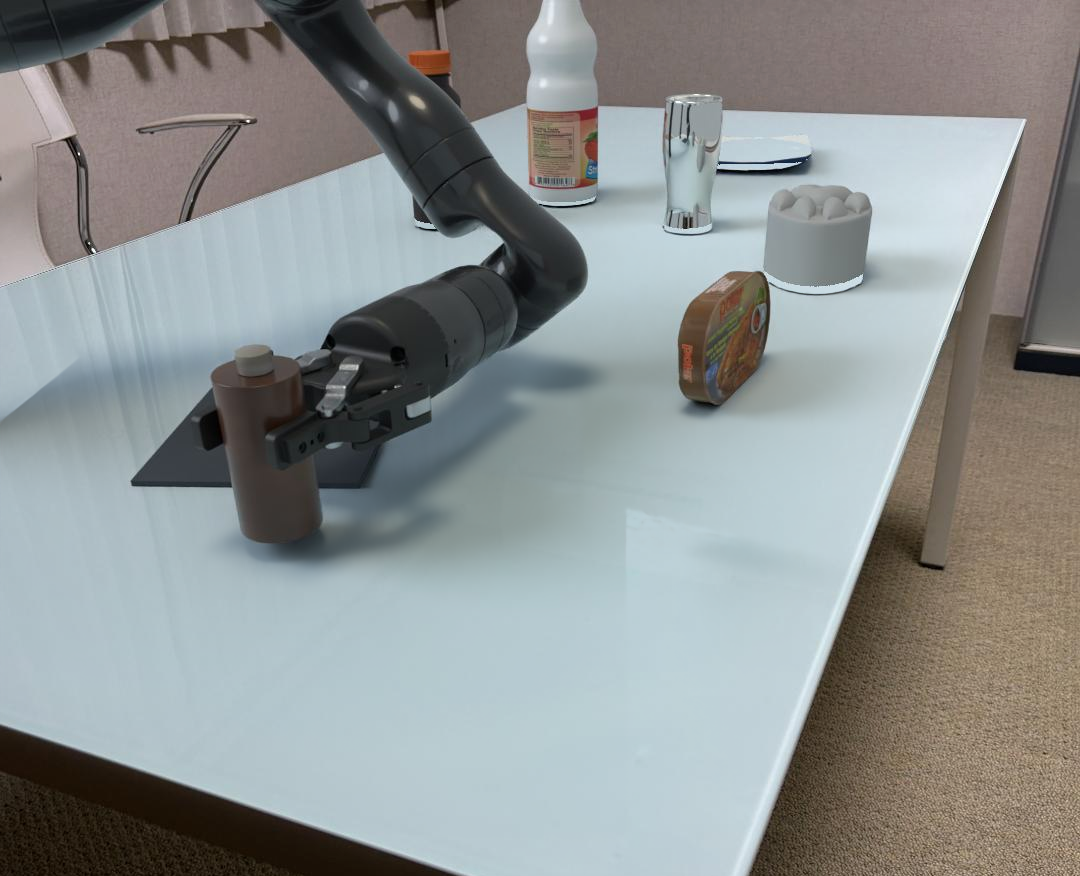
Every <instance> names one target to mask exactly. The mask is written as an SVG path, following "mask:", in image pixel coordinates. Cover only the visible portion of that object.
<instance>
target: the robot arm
mask: <svg viewBox="0 0 1080 876" xmlns="http://www.w3.org/2000/svg"><path fill="white" fill-rule="evenodd" d="M168 1H169V0H0V74H5V73H10V72H17V71H21V70H25V69H29V68H33V67H39V66H41V65H46V64H51V63H54V62H59V61H62V60H67V59H71V58H74V57H76V56H79V55H82V54H85V53H88V52H90V51H92V50H95V49H97V48H99V47H101V46H103V45H104V44H107V43H108V42H110V41H111V40H113V39H114V38H116V37H118V36H119V35H121V34H122V33H124V32H125V31H127V30H128V29H130V28H131V27H132V26H134V25H135V24H137V23H138V22H139V21H141V20H142V19H143V18H144V17H146V16H147V15H149V14H150V13H151V12H153V11H154V10H155V9H157V8H159V7H160V6H162V5H163V4H165V3H166V2H168ZM253 2H254V3H255V4H256V5H257V6H258V8H259V9H260V10H261V11H262V12H263V14H265V16H267V18H268V19H269V20H270V21H271V22H272V23H273V24H274V26H276V27H277V29H278V30H279V31H280V32H281V33H282V34H283V35H284V36H285V37H286V38H287V39H288V40H289V41H290V42H291V43H292V44H293V45H294V46H295V47H296V48H297V49H298V51H300V52H301V53H302V55H304V57H305V58H306V59H307V60H308V61H309V62H310V64H311V65H312V66H313V67H314V68H315V69H316V70H317V71H318V73H319V74H320V75H321V76H322V77H323V78H324V80H325V81H326V82H327V83H328V84H329V85H330V86H331V87H332V88H333V90H334V91H335V92H336V93H337V95H339V97H340V98H341V99H342V100H343V101H344V103H345V104H346V105H347V106H348V107H349V109H350V111H352V113H354V115H355V117H356V118H357V119H358V120H359V122H360V123H361V124H362V125H363V126H364V128H365V130H366V131H367V132H368V133H369V135H370V136H371V138H372V139H373V141H374V142H375V143H376V145H377V146H378V147H379V148H380V150H381V151H382V153H383V154H384V157H386V159H387V160H388V161H389V163H390V165H391V166H392V168H393V169H394V170H395V171H396V174H398V176H399V178H400V179H401V181H402V182H403V184H404V185H405V187H406V188H407V189H408V192H410V194H411V196H412V195H413V197H414V198H415V199H416V201H417V202H418V204H419V205H420V207H421V208H422V210H423V211H424V212H425V214H426V215H427V217H428V218H429V220H430V221H431V223H432V224H433V225H434V227H435V228H436V229H437V230H436V231H437V232H439V233H440V234H441V235H442V236H444V237H446V238H450V239H457V238H461V237H465V236H466V235H468V234H471V233H474V232H475V231H476V230H478V229H480V228H481V227H483V226H484V227H486V228H487V229H489V230H490V231H492V232H493V233H494V234H496V235H497V236H498V237H499V238H500V239H501V240H502V243H501V244H500V245H499V246H497V248H495V250H494V251H493V252H492V253H490V254H489V255H488V256H487V257H486V258H485V259H484V260H483V261H481V262H480V263H479V264H467V265H466V264H465V265H460V266H456V267H454V268H451V269H449V270H446V271H443V272H441V273H440V274H437V275H435V276H433V277H431V278H429V279H427V280H425V281H423V282H420V283H416V284H412V285H407V286H405V287H402V288H400V289H398V290H395V291H393V292H392V293H390V294H387V295H385V296H383V297H381V298H378V299H376V300H374V301H371V302H370V303H368V304H366V305H364V306H362V307H359V308H358V309H355V310H353V311H351V312H349V313H346V314H345V315H343V316H341V317H340V318H339V319H337V320H336V321H335V322H334V323H333V324H332V326H331V327H330V328H329V330H328V332H327V334H326V336H325V339H324V341H323V343H322V345H321V347H320V348H319V349H317V350H312V351H309V352H306V353H304V354H302V355H299V356H297V357H295V358H293V359H294V360H296V361H297V362H298V363H299V364H300V367H301V373H302V380H303V386H304V393H305V400H306V406H307V411H306V412H304V413H302V414H300V415H299V416H297V417H295V418H293V419H291V420H290V421H288V422H286V423H284V424H282V425H281V426H279V427H277V428H275V429H274V430H272V431H270V432H269V433H268V434H267V435H266V437H265V446H266V452H267V458H268V463H269V466H270V467H271V468H275V469H279V470H285V469H287V468H288V467H290V466H292V465H293V464H295V463H297V462H300V461H302V460H304V459H305V458H307V457H309V456H310V455H311V454H314V453H315V452H317V451H318V450H320V449H322V448H325V449H334V448H338V447H340V446H341V445H342V443H343V442H351V445H352V449H354V450H357V451H364V450H368V449H370V448H373V447H375V446H377V445H379V446H380V445H382V444H384V443H386V442H388V441H391V440H393V439H395V438H398V437H400V436H403V435H404V434H406V433H409V432H411V431H413V430H414V431H415V430H416V429H418V428H421V427H422V426H423V427H424V426H426V425H428V424H429V423H431V422H432V421H433V418H432V417H433V416H432V401H431V400H432V399H433V398H435V397H437V396H438V395H440V394H441V393H443V392H444V391H446V390H447V389H449V388H450V387H452V386H454V385H455V384H456V383H458V382H459V381H460V380H461V379H462V378H464V377H465V375H466V374H467V373H468V372H469V371H471V370H472V369H474V368H476V367H477V366H478V365H480V364H482V363H483V362H485V361H486V360H488V359H490V358H491V357H493V356H494V355H495V354H497V353H500V352H502V351H506V350H508V349H510V348H512V347H514V346H516V345H517V344H520V343H521V342H523V341H524V340H526V339H527V338H529V337H530V336H531V335H533V334H534V333H535V332H537V331H538V330H539V329H541V328H542V327H543V326H544V325H546V324H547V323H548V322H549V321H551V319H552V318H554V317H555V316H556V315H557V314H559V313H560V312H562V311H563V310H564V309H566V308H567V307H568V306H569V305H571V304H572V303H573V302H574V301H576V300H577V299H578V298H579V297H581V295H582V294H583V292H584V291H585V290H586V287H587V285H588V279H589V266H588V260H587V256H586V254H585V251H584V249H583V247H582V245H581V243H580V242H579V240H578V239H577V237H576V236H575V235H574V234H573V233H572V232H571V231H570V230H569V228H567V227H566V226H565V225H564V224H563V223H562V222H561V221H559V220H558V219H557V218H556V217H555V216H554V215H552V214H551V213H550V212H548V211H547V210H546V209H545V208H544V207H542V205H539V204H538V203H537V202H536V201H534V200H533V199H532V198H531V197H530V194H528V193H527V192H526V190H524V189H523V188H521V186H520V185H519V184H517V183H516V182H515V181H514V180H513V179H512V178H511V177H510V176H509V175H508V174H507V173H506V172H505V171H504V170H503V169H502V167H501V166H500V164H499V163H498V160H496V158H495V157H494V155H493V153H492V152H491V150H490V149H489V147H488V146H487V145H486V143H485V142H484V140H483V139H482V137H481V136H480V134H479V133H478V131H477V130H476V128H475V127H474V126H473V124H472V123H471V121H470V119H468V117H467V115H466V114H465V113H464V112H463V110H462V108H461V109H460V108H459V107H458V106H457V105H456V103H455V102H454V101H453V100H452V99H451V98H450V97H449V96H448V95H447V94H446V93H445V92H444V91H443V90H442V89H441V88H440V87H439V86H438V85H436V84H435V83H434V82H433V81H431V80H430V79H429V78H428V77H426V76H425V75H424V74H423V73H421V72H420V71H419V70H417V69H416V68H415V67H413V66H412V65H411V64H410V63H409V61H408V60H406V59H405V58H404V57H403V56H401V54H400V53H399V52H398V51H397V50H396V49H395V48H394V47H393V46H392V45H391V44H390V43H389V42H388V40H387V39H386V38H385V37H384V35H383V34H382V32H381V31H380V30H379V28H378V27H377V25H376V24H375V22H374V20H373V18H372V17H371V15H370V13H369V11H368V10H367V8H366V6H365V4H364V1H363V0H253ZM271 355H275V353H274V351H273V349H271ZM369 420H372V421H376V422H379V424H378V426H377V427H376V428H374V429H371V430H370V424H369ZM190 424H191V429H192V434H193V438H194V443H195V446H196V447H197V448H199V449H203V450H207V451H210V450H212V449H214V448H216V447H218V446H219V445H221V444H223V438H222V433H221V428H220V423H219V418H218V413H217V408H216V403H215V404H213V405H211V406H209V407H207V408H205V409H203V410H201V411H199V412H197V413H195V414H194V415H193V416H192V417H191V421H190Z"/></svg>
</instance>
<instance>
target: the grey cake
mask: <svg viewBox="0 0 1080 876" xmlns="http://www.w3.org/2000/svg"><path fill="white" fill-rule="evenodd" d="M870 200H871V199H870V198H869V196H868V195H867V194H866V193H865V192H862V191H855V192H853V191H851V190H850V189H849V188H848V187H846V186H843V185H838V184H837V185H836V184H835V185H834V184H827V185H818V184H800V185H798V186H796V187H794V188H793V189H792V190H788V189H786V188H784V189H780V190H778V191H776V192H775V193H774V195H773V196H772V198H771V200H770V201H769V204H768V207H767V208H768V209H767V218H766V230H765V242H764V253H763V265H762V269H763V268H764V271H765V272H767V273H768V274H769V275H771V276H773V277H774V278H776V279H778V280H780V281H782V282H786V283H788V284H789V283H790V284H794V285H800V286H810V287H811V286H814V287H817V286H818V287H819V286H828V285H829V286H830V285H835V284H839V283H845V282H847V281H850V280H852V279H854V278H856V277H859V276H860V275H862V274H863V272H864V273H865V269H866V260H867V253H868V246H869V238H870V231H871V223H872V217H873V206H872V203H871V201H870Z"/></svg>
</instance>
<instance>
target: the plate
mask: <svg viewBox="0 0 1080 876" xmlns="http://www.w3.org/2000/svg"><path fill="white" fill-rule="evenodd" d="M752 138H753V139H759V138H760V139H763V138H764V139H765V138H771V139H777V140H784V141H785V140H786V141H794V142H798V143H802V144H806V145H809V146H811V147H812V148H813V146H812V143H811V141H810V138H809V136H808V134H794V135H781V136H772V137H770V136H769V137H765V136H764V137H761V136H759V137H757V136H756V137H755V136H754V137H753V136H751V137H747V136H746V137H745V136H724V135H722V142H725V141H729V140H730V141H731V140H744V139H752ZM811 153H813V151H812V152H810V153H809V154H807V155H803V156H798V157H793V158H788V159H780V160H771V161H765V162H758V161H721V160H719V162H718V164H719V165H720V164H774V163H796V162H797V163H798V162H804V161H805V160H806V159H808V158H809V157H810V156H811V157H812V155H811ZM811 157H810V158H811ZM810 158H809V159H810ZM809 159H808V160H809ZM805 162H806V161H805ZM805 162H804V163H805Z"/></svg>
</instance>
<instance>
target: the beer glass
mask: <svg viewBox="0 0 1080 876" xmlns="http://www.w3.org/2000/svg"><path fill="white" fill-rule="evenodd" d="M664 104H665V105H664V113H663V123H662V136H661V137H662V139H661V140H662V141H661V142H662V143H661V144H662V160H663V168H664V169H663V170H664V176H665V183H666V208H665V214H664V217H663V222H662V225H663V224H664V225H666V226H668V227H672V228H678V229H679V228H680V229H682V228H683V229H689V228H698V227H704V226H707V225H709V224H711V223H713V217H712V196H713V195H712V194H713V188H714V184H715V180H716V174H717V172H718V171H717V166H718V162H719V156H720V151H721V143H722V136H723V123H724V121H723V120H724V119H723V118H724V117H723V116H724V115H723V97H722V96H720V95H716V94H708V93H706V94H705V93H682V94H675V95H674V94H673V95H669V96H666V98H665V103H664Z"/></svg>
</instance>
